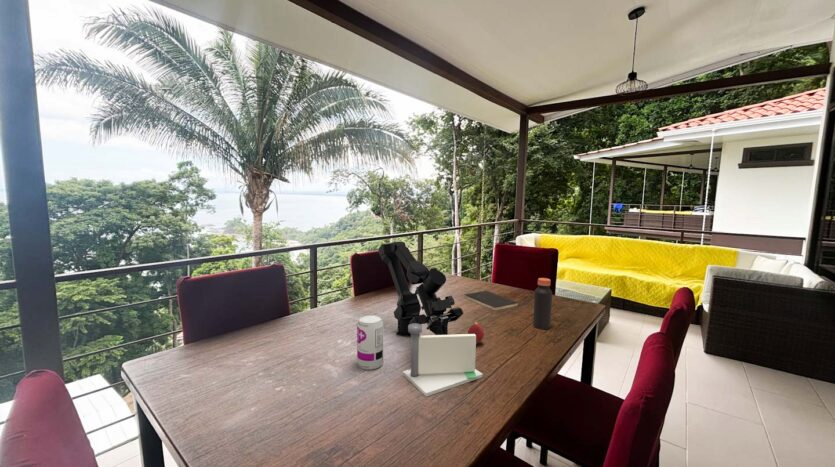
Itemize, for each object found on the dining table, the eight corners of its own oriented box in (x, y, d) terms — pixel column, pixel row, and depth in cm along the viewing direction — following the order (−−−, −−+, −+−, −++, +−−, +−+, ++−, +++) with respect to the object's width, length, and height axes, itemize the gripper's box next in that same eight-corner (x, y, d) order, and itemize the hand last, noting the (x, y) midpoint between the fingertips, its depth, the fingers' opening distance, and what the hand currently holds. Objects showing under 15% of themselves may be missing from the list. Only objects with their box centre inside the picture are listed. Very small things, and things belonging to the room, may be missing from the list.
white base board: (428, 398, 91) (428, 394, 91) (402, 374, 103) (402, 370, 103) (485, 378, 102) (486, 374, 102) (457, 358, 114) (457, 354, 114)
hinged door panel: (408, 378, 99) (408, 328, 97) (407, 371, 103) (407, 323, 101) (475, 375, 101) (477, 326, 99) (472, 368, 105) (474, 321, 103)
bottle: (547, 323, 145) (550, 277, 143) (552, 330, 139) (555, 281, 136) (531, 322, 146) (533, 277, 144) (535, 329, 139) (537, 281, 137)
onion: (483, 347, 122) (484, 326, 121) (467, 346, 123) (467, 324, 122) (483, 341, 128) (484, 320, 127) (468, 339, 129) (468, 318, 128)
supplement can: (362, 373, 104) (361, 325, 102) (354, 361, 111) (353, 316, 109) (387, 367, 108) (387, 321, 106) (377, 356, 115) (377, 312, 113)
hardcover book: (494, 312, 161) (494, 307, 160) (464, 298, 180) (464, 294, 180) (518, 306, 169) (519, 302, 168) (487, 294, 188) (487, 290, 188)
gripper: (414, 291, 108) (432, 338, 100) (461, 284, 118) (481, 326, 110) (402, 308, 116) (418, 352, 108) (447, 299, 125) (464, 340, 118)
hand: (446, 342), depth 111 cm, fingers closed
